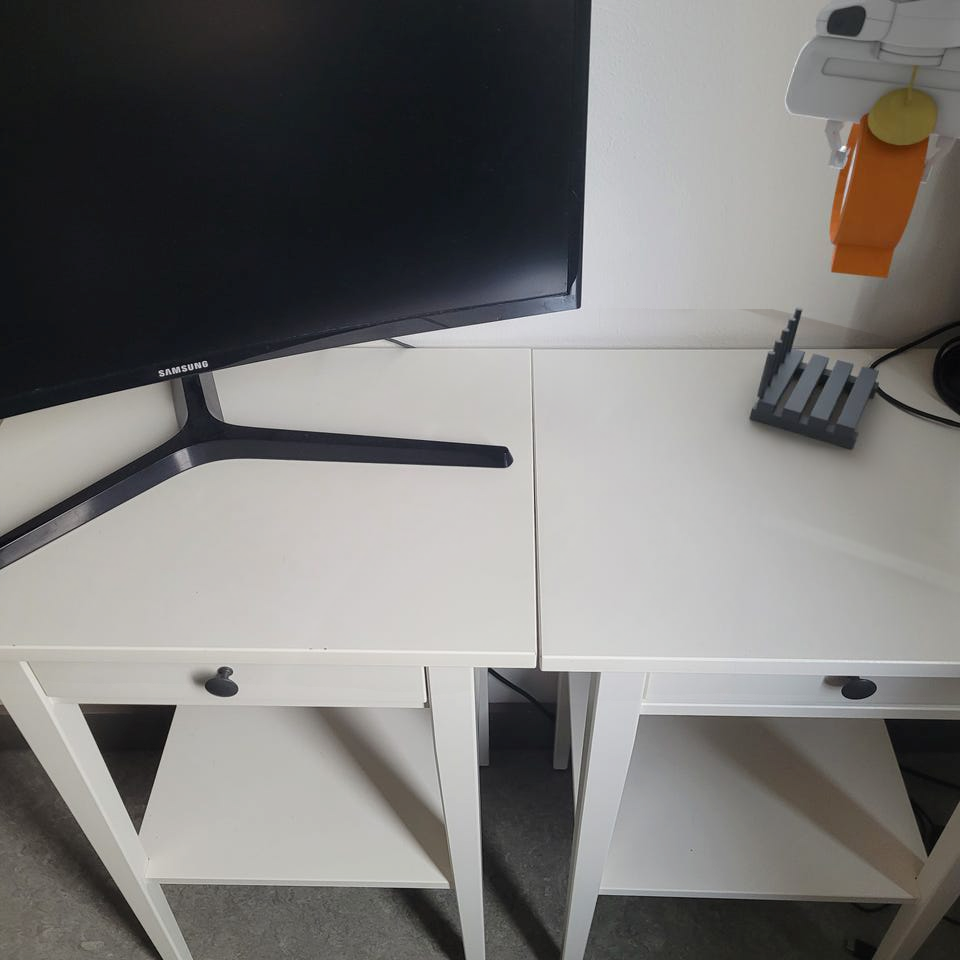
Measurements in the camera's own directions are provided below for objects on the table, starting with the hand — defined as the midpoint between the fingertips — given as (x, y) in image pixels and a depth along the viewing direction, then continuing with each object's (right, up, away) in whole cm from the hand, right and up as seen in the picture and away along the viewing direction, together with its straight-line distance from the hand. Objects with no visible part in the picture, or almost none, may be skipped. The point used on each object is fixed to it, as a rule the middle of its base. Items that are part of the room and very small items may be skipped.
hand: (876, 173), depth 81 cm
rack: (+2, -21, +20) cm, 29 cm away
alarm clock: (0, -7, +6) cm, 9 cm away
